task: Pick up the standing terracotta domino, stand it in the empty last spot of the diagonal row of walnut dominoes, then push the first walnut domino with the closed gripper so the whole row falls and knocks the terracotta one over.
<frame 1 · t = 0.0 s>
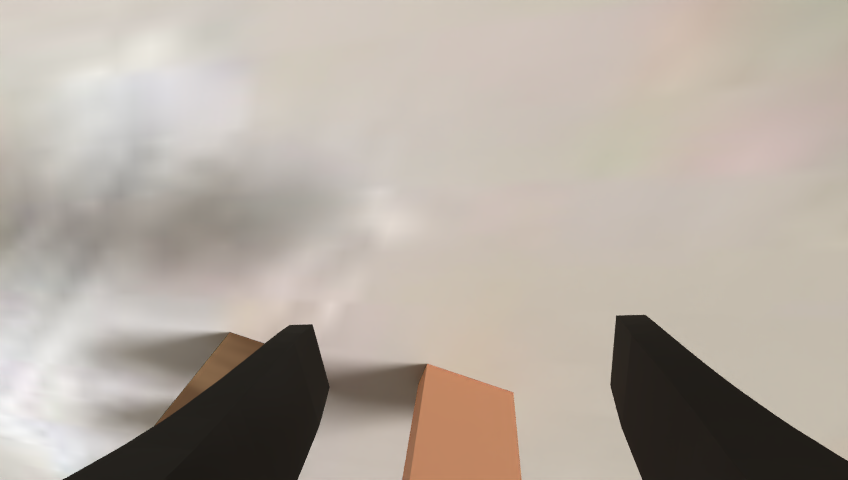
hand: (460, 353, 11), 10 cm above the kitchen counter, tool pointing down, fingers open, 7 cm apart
end domino: (465, 388, 24), on the kitchen counter
domino 3: (270, 356, 25), on the kitchen counter
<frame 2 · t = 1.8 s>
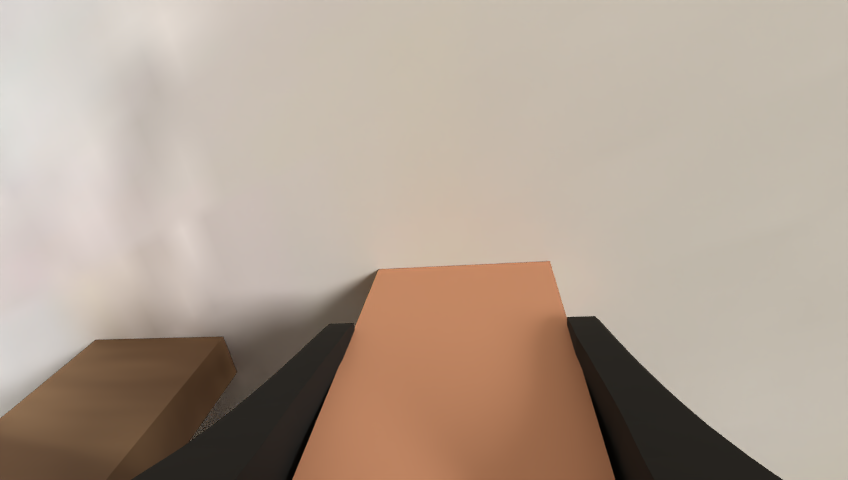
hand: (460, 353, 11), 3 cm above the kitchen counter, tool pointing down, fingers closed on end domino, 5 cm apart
end domino: (463, 288, 13), on the kitchen counter, touching gripper
domino 3: (166, 356, 16), on the kitchen counter
when the fingers open (4 cm above the kitchen counter, at t = 5.7 s): end domino drops 1 cm, on the kitchen counter.
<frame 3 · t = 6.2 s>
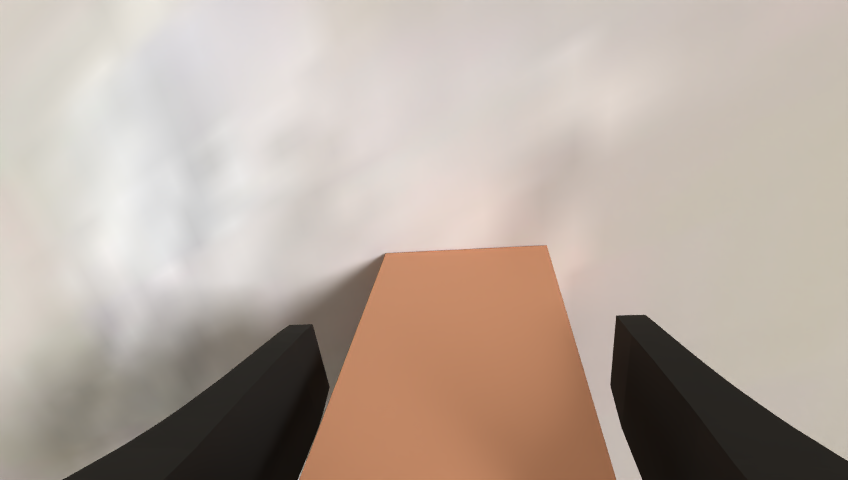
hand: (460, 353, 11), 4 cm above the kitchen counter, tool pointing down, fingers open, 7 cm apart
end domino: (465, 271, 14), on the kitchen counter
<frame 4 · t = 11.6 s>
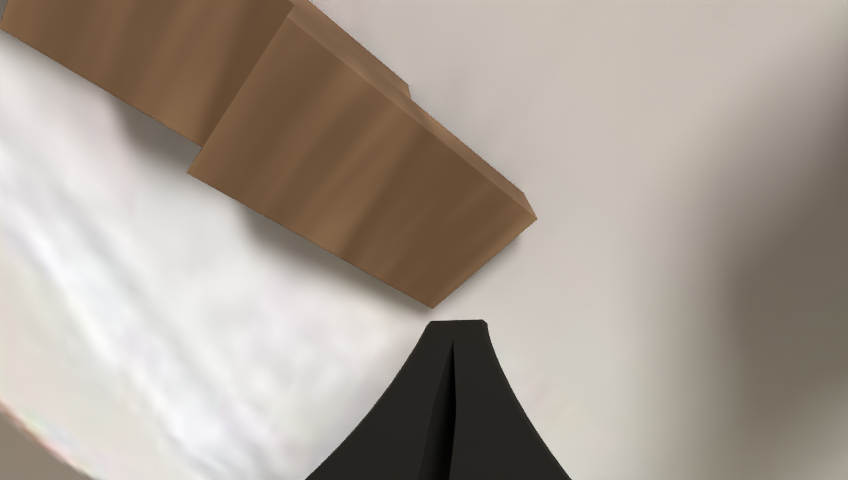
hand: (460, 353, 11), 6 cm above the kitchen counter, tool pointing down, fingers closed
domino 2: (360, 151, 15), point 1 cm above the kitchen counter, tilted 73°, touching domino 1, domino 3
domino 1: (476, 252, 16), point 1 cm above the kitchen counter, tilted 73°, touching domino 2
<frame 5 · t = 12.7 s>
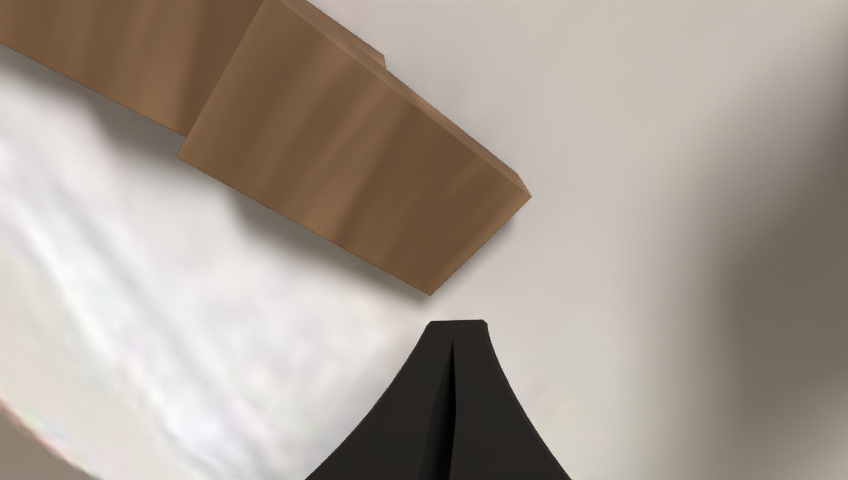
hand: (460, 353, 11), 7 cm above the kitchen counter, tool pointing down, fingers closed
domino 2: (342, 128, 14), point 1 cm above the kitchen counter, tilted 74°, touching domino 1, domino 3
domino 1: (473, 236, 15), point 1 cm above the kitchen counter, tilted 74°, touching domino 2
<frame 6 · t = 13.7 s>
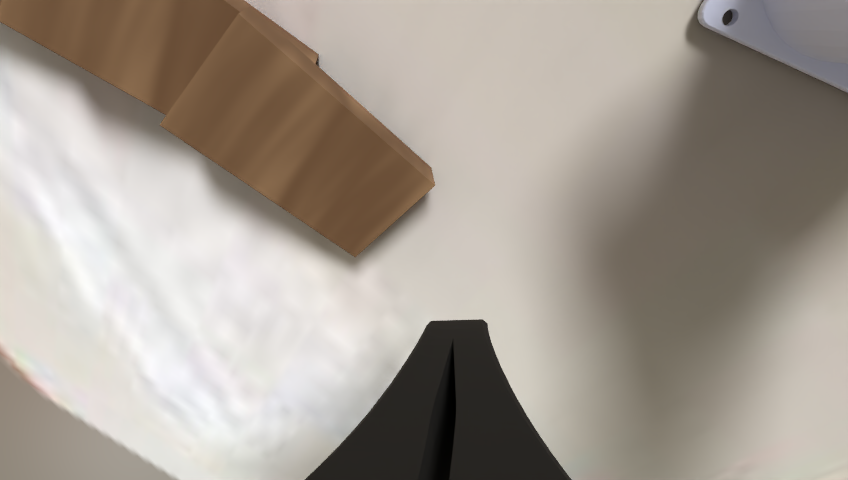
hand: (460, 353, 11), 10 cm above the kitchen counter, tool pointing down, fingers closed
domino 2: (285, 110, 18), point 1 cm above the kitchen counter, tilted 74°, touching domino 1, domino 3
domino 1: (392, 213, 20), point 1 cm above the kitchen counter, tilted 75°, touching domino 2
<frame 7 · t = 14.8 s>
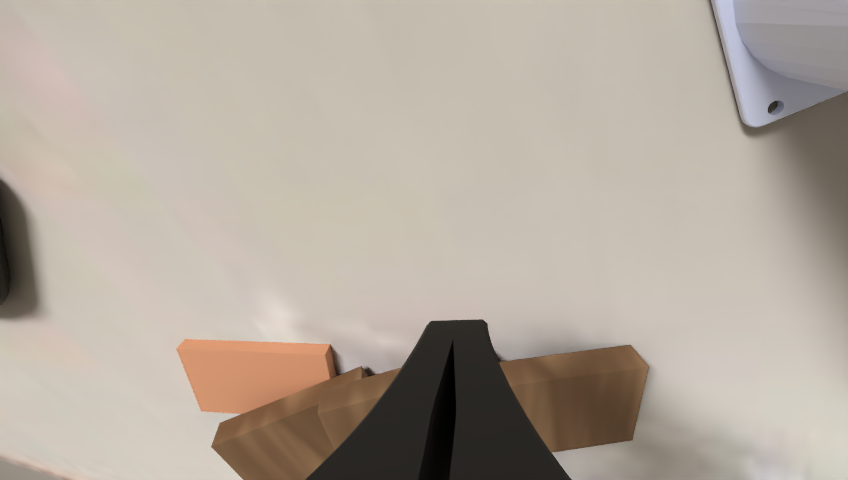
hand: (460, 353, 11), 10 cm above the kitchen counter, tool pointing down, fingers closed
domino 2: (497, 389, 24), point 1 cm above the kitchen counter, tilted 74°, touching domino 1
end domino: (336, 378, 26), on the kitchen counter, tilted 90°, touching domino 3
domino 3: (380, 405, 25), point 1 cm above the kitchen counter, tilted 77°, touching end domino
domino 1: (631, 393, 23), point 1 cm above the kitchen counter, tilted 75°, touching domino 2
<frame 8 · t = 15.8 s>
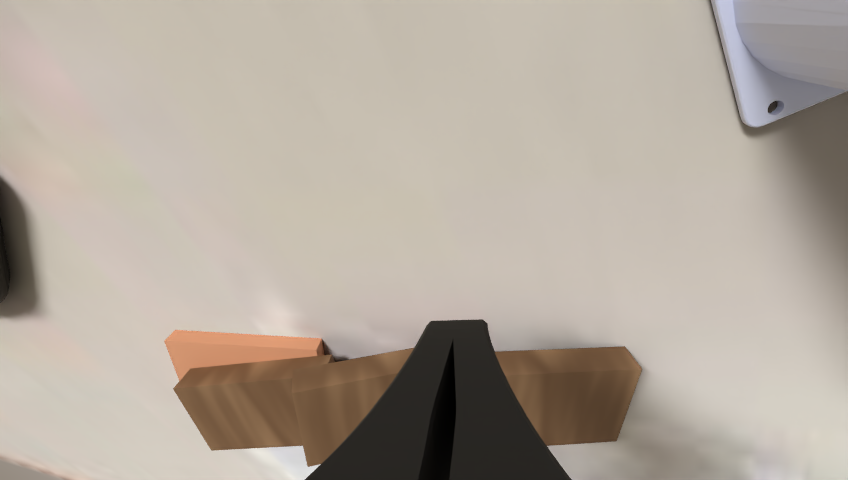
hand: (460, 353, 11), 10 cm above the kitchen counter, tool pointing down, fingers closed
domino 2: (471, 384, 24), point 1 cm above the kitchen counter, tilted 69°
end domino: (326, 374, 26), on the kitchen counter, tilted 90°
domino 3: (341, 399, 24), point 2 cm above the kitchen counter, tilted 90°
domino 1: (620, 394, 23), point 1 cm above the kitchen counter, tilted 76°
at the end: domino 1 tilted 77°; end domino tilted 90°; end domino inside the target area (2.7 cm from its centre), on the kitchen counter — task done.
